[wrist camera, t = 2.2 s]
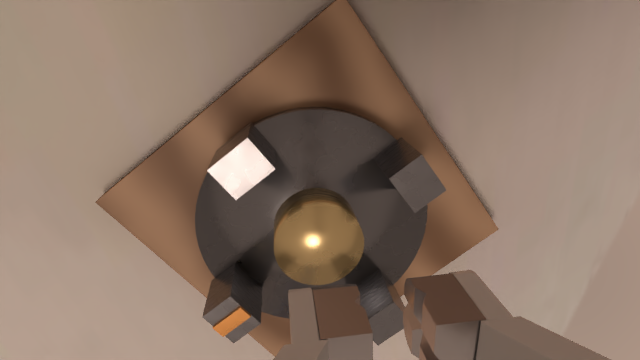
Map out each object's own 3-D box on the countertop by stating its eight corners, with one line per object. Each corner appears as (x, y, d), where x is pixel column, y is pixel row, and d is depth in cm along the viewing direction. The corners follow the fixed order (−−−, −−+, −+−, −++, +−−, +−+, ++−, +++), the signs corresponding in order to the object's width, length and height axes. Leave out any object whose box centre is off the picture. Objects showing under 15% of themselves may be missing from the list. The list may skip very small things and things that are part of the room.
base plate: (339, -4, 26) (344, -6, 24) (489, 220, 34) (500, 230, 32) (103, 193, 29) (93, 203, 27) (291, 358, 36) (292, 373, 35)
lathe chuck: (336, 49, 25) (352, 53, 20) (463, 228, 31) (500, 266, 26) (142, 207, 28) (113, 246, 23) (295, 345, 34) (300, 400, 29)
